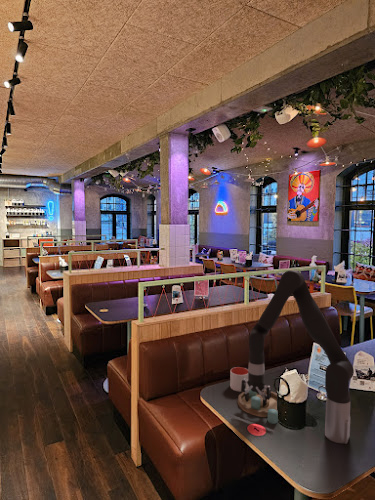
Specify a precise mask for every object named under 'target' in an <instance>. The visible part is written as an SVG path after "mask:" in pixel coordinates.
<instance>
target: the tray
mask: <svg viewBox="0 0 375 500" xmlns="http://www.w3.org/2000/svg"><path fill="white" fill-rule="evenodd" d="M264 390H265V388H264ZM261 392H262V391H261ZM265 393H266V395H267V391H266V390H265ZM277 394H278V393H276V392H275V391H272V390H271V398H270V399H269V400H267V405H266V406H265V407H263V398H262V396H261V395H260V394H259V393H257V397H259V398H260V411H258V410H255V409H252V408H251V398H249V401H248V402H247V401H246V400H245V393H244V392H241V393H240V394H239V395H238V397H237V405H238V407H239V408H240V409H241V410H242V411H244V412H245V413H248V414H250V415H253V416H257V417H261V418H262V417H263V418H268V410H269V409H275V410H277ZM277 411H278V410H277Z"/></svg>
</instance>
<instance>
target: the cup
mask: <svg viewBox="0 0 375 500" xmlns="http://www.w3.org/2000/svg"><path fill="white" fill-rule="evenodd" d="M229 378H230V379H229V380H230V381H229V382H230V383H229V385H230V390H233V391H234V392H235V391H236V392H239V393H240V392H241V393H242V391H241V385H242V380H243V379H244V378H246V380H248V368H246V367H242V366H241V367H240V366H237V367H235V366H234V367H232V368H231V369H230V377H229ZM248 386H249V385H248V384H246V389H248Z"/></svg>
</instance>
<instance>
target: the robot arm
mask: <svg viewBox="0 0 375 500" xmlns="http://www.w3.org/2000/svg"><path fill="white" fill-rule="evenodd" d="M278 281H279V282H278V284H277V287H276V290H274V291H275V292H274V294H273V296H272V297H271V299H270V301H269V303H268V304H267V306H266V307H265V309H264V310H263V312H262V313H261V315H260V316H259V319H258V321H257V322H256V324H254V326H253V328H251V331H250V334H249V337H248V349H249V353H248V367H247V370H248V380H246V378H244V379H243V380H242V385H241V391H242V392H244V393H245V400H246V401H247V402H248V401H249V393H248V392H249V391H250V390H252V391H253V392H256V393H259V394H260V395H261V396H262V398H263V407H265V406H266V405H267V400H269V399H270V398H271V391H272V386H271V385H265V367H266V366H265V352H264V350H265V339H266V337H267V334H268V333H269V331H270V330H272V328H274V325H275V324H276V323H277V322H278V319H279V318H280V315H281V314H282V311H283V310H284V308H285V307H284V306H285V305H286V303H287V301H288V300H289V298H290V297H291V296H292V297H293V298H294V300H295V302H296V304H297V307H298V311H299V312H298V313H299V315H300V318H301V321H302V323H303V326H304V328H305V329H306V332H307V333H308V335H309V336H310V338H311V339H312V340H313V341H314V342H315V343H317V345H318V346H320V348H321V349H322V350H323V352H324V353H325V355H326V357H327V359H328V362H329V364H328V365H327V366H326V368H325V373H324V374H325V376H324V379H325V380H324V383H325V384H324V388H325V392H326V399H325V401H326V402H325V403H326V404H325V419H324V422H325V423H324V424H325V425H324V435H325V437H326V438H327V440H329V441H331V442H333V443H337V444H345V445H347V444H348V442H349V439H350V433H351V414H350V413H351V398H352V397H351V392H350V391H349V383H350V380H351V379H352V378H353V376H354V374H355V369H354V366H353V364H352V363H351V361H350V359H349V358H348V356H347V355H346V354H345V352H344V350H343V349H342V347H341V346H340V344H339V341H338V340H337V339H336V336H335V334H334V333H333V331H332V329H331V327H330V324H329V323H328V322H327V319H326V318H325V315H324V313H322V312H323V311H321V309H320V307H319V305H318V304H317V302H316V300H315V299H314V298H313V296H312V294H311V291H310V289H309V288H308V285H307V281H306V280H305V277H304V275H303V273H302V272H300V271H298V270H295V269H292V270H286V271H285V272H283V273H282V275H281V277H280V279H279V280H278ZM246 384H248V385H249V388H248V389H246ZM264 389H265V390H266V391H267V395H266V393H265V390H264ZM261 391H262V392H261ZM242 392H241V393H242Z"/></svg>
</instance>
